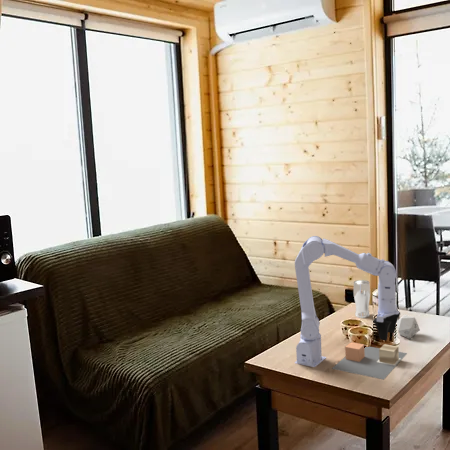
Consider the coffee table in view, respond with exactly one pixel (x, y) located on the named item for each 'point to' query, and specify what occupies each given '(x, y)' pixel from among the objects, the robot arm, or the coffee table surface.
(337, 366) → the build mat
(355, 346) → the terracotta block
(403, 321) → the die
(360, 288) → the beer glass
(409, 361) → the coffee table surface
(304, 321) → the robot arm
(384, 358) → the birch block
